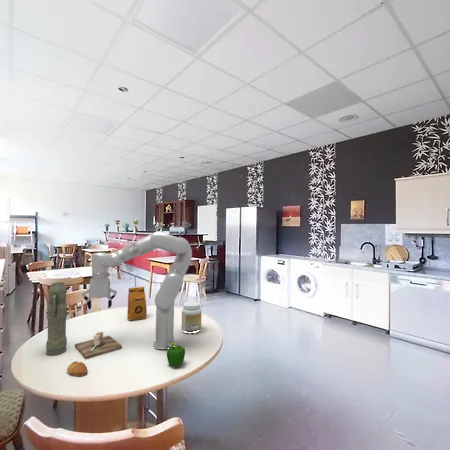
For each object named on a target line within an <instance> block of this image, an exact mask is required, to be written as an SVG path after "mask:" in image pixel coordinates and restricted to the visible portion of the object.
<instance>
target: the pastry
mask: <svg viewBox="0 0 450 450" xmlns="http://www.w3.org/2000/svg"><path fill="white" fill-rule="evenodd" d="M66 371H67V373H68V374H69V376H73V377H76V378H77V377H82V376H85V375H87V373H88V366H86V364H85V363H84V362H82V361H73V362H71V363H70V364H69V365H68V366H67V369H66Z"/></svg>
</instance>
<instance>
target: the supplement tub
mask: <svg viewBox="0 0 450 450" xmlns="http://www.w3.org/2000/svg"><path fill="white" fill-rule="evenodd" d="M182 307H183V308H182V309H181V331H182V330H183V331H187V332H193V331H197V330H200V329H201V330H202V307H201V303H200V302H198V301H187V302H184V303H183V306H182Z"/></svg>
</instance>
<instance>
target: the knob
mask: <svg viewBox="0 0 450 450" xmlns="http://www.w3.org/2000/svg"><path fill="white" fill-rule="evenodd" d="M103 337H104V331H97V333H96V334H95V335H93V339H94V342H93V346H94V347H93V348H92V349H91V351H93V350H94V349H95V347H99V346H102V345H104V341H103Z"/></svg>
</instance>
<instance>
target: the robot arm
mask: <svg viewBox="0 0 450 450" xmlns="http://www.w3.org/2000/svg"><path fill="white" fill-rule="evenodd" d="M157 249H160V250H162V251H166V252H169V253H173V254H175V255H176V256H175V259H174V260H173V263H172V265H171V267H170V269H169V271H168V272H167V273H166V274H165V278H164V280H163V281H162V283H161V285H160V287H159V289H158V291H157V293H156V295H155V297H154V304H155V307H156V308H155V309H156V312H155V340H154V341H153V342H152V348H153V347H154V348H153V349H154V350H157V349H168V348H170V347H171V346H174V345H171V343H175V344H176V345H177V341H176V340H175V338H174V332H175V331H174V330H175V328H174V326H175V324H174V323H175V322H174V321H175V320H174V319H175V300H176V299H177V297H178V295H179V292H180V290H181V288H182V286H183V283H184V279H185V278H184V277H185V276H186V273H187V271H188V269H189V266H190V264H191V261H192V258H193V251H192V247H191V244H190V243H189V241H188V240H187V239H186V238H184V237H179V236H178V237H177V236H176V235H175V236H174V235H171V234H168V233H166V232H164V231H163V230H158V231H157V230H156V231H155V232H152V233H150V234H148V235H146V236H144V237H142V238H140V239H137V240H136V241H134V242H132V243H131V244H129V245H127V246H125V247H123V248H120V249H118V250H115V251H113V252H111V253H110V252H109V253H107V252H94V253H93V254H92V255H91V257H92V258H91V278H90V281H89V287H88V289H87V290H86V291H84V292H82V293H81V295H82V297H83V299H84V300H85V301H86V303H87V304H86V306H87V308H88V310H91V308H92V299H102V298H107V299H108V302H107V304H108V306H107V308H108V309H111V307H112V306H113V305H112V303H113V299H115V297H116V295H117V293H118V291H117V290H114V289H112V288H111V281H110V280H111V279H110V276H111V273H109V272H108V270H109V267H110V268H116V267H119V266H120V265H121V264H123V263H125V262H127V261H130V260H132V259H134V258H137V257H141V256H144V255H146V254H149V253H150V252H152V251H155V250H157ZM111 293H113V294H112V296H111ZM87 294H88V296H87Z"/></svg>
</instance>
